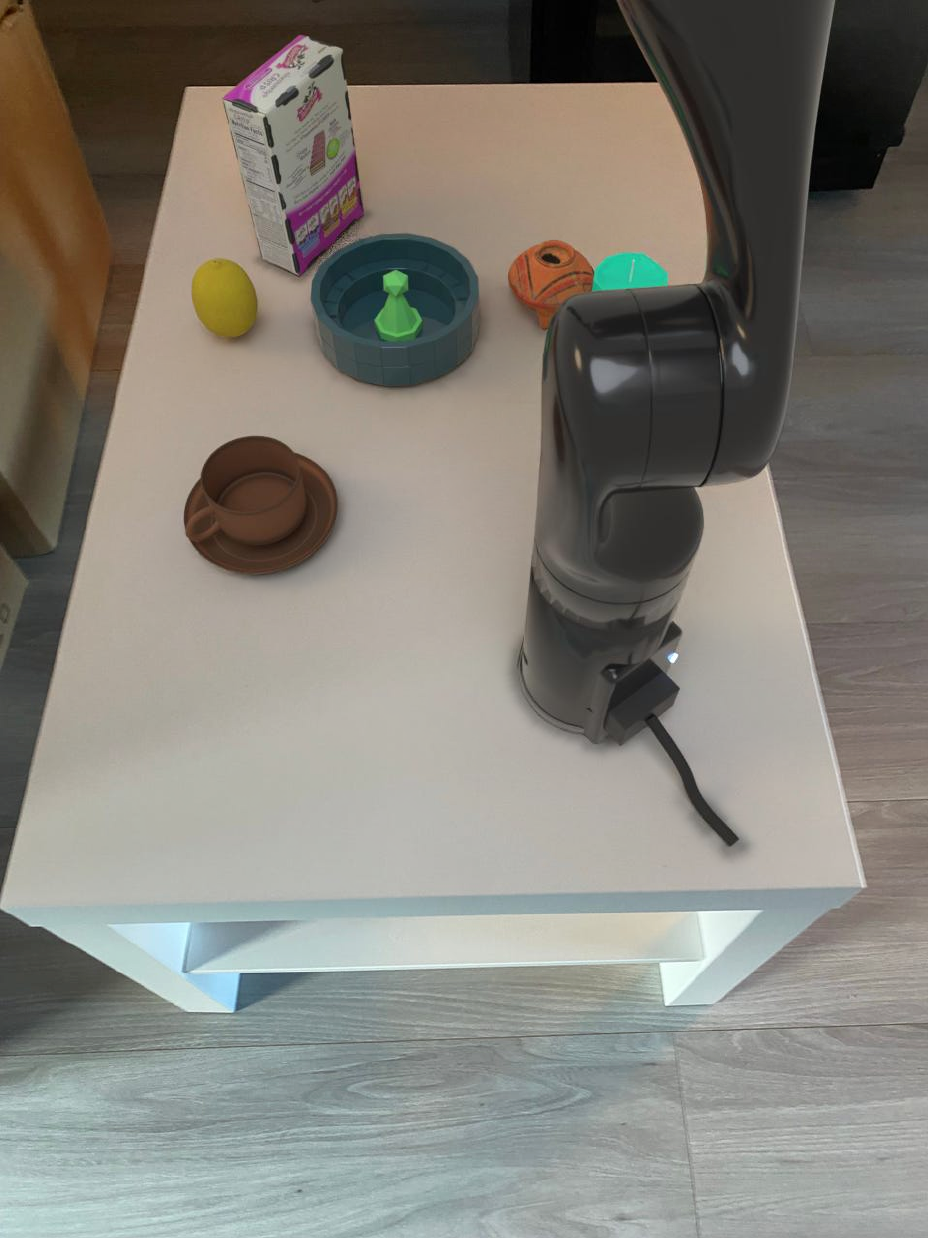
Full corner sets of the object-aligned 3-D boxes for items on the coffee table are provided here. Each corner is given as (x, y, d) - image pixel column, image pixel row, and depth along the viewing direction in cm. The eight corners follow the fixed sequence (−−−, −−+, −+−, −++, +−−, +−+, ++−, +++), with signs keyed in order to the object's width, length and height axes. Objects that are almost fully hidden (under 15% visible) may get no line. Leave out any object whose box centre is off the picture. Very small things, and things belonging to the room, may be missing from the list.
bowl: (510, 341, 86) (512, 297, 82) (379, 415, 82) (374, 373, 77) (415, 257, 92) (413, 212, 88) (288, 322, 88) (278, 277, 83)
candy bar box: (325, 198, 97) (299, 30, 83) (365, 214, 95) (346, 46, 81) (257, 261, 92) (218, 94, 78) (298, 279, 91) (266, 112, 77)
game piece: (400, 303, 88) (396, 248, 83) (432, 326, 86) (429, 272, 81) (365, 326, 86) (358, 272, 81) (397, 350, 85) (392, 296, 80)
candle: (610, 408, 82) (630, 297, 72) (566, 368, 84) (579, 254, 74) (662, 378, 84) (688, 265, 73) (617, 339, 86) (637, 224, 76)
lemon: (254, 359, 85) (235, 287, 78) (195, 351, 86) (171, 278, 79) (272, 317, 88) (255, 244, 81) (216, 309, 89) (194, 236, 82)
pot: (486, 315, 87) (495, 244, 83) (532, 286, 92) (544, 217, 87) (558, 349, 85) (573, 278, 80) (602, 318, 89) (618, 249, 85)
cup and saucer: (282, 609, 72) (267, 563, 66) (158, 545, 75) (134, 496, 70) (369, 499, 77) (361, 449, 72) (250, 443, 80) (234, 391, 75)
